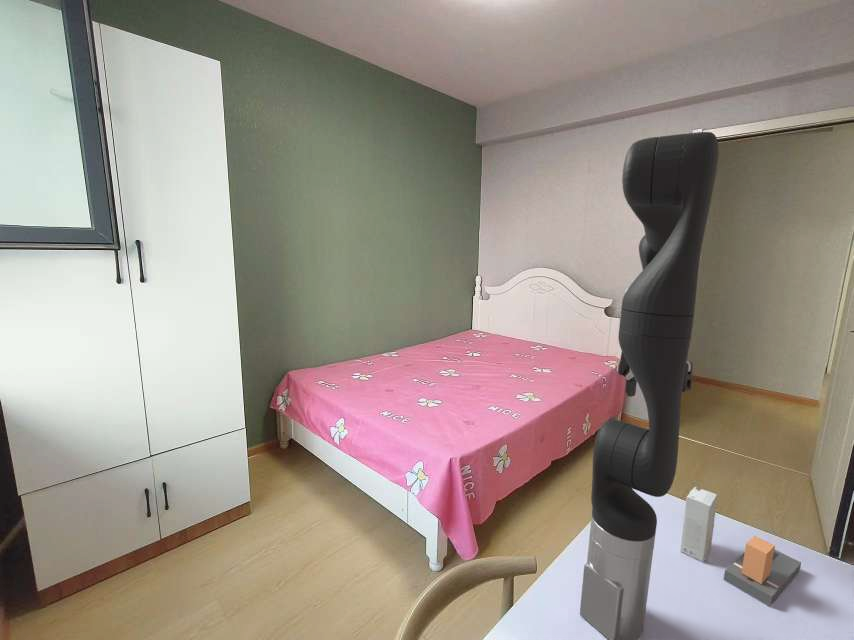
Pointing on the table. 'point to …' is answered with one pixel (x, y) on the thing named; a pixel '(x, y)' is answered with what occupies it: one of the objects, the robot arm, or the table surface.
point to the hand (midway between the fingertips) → (649, 401)
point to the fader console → (774, 584)
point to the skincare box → (698, 523)
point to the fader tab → (758, 559)
